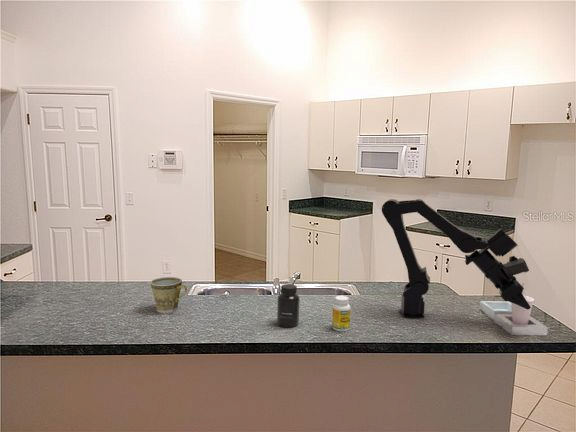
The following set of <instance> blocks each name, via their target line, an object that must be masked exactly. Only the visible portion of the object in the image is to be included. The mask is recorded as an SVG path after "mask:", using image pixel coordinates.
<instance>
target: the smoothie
mask: <svg viewBox="0 0 576 432" xmlns="http://www.w3.org/2000/svg"><path fill="white" fill-rule="evenodd" d="M521 285H522V287H523V288H524V290H523V291H522V295H523V296H524V298H525V299H526V301H527V302H528V304H529V305H530V307H531V308H530V309H528V310H527V309H525V308H523V307H521V306H519V305H517V304H514V303H512V302H510V303H511V306H512V322H513V323H514V324H521V325H528V321H529V317H530V316H531V312H532V308H533V304H535V299H534V297H531V296H528V295H525V294H524V292H525V283H522V284H521Z"/></svg>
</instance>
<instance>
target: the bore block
mask: <svg viewBox="0 0 576 432" xmlns="http://www.w3.org/2000/svg"><path fill="white" fill-rule="evenodd" d="M493 322H494V323H495V324H497V325H498V326H499V327H501V328H502V329H503V330H504V331H505V332H507V333H508V334H509V335H511V336H547V335H548V329H549V328H548V326H546V325H545V324H543V323H542V322H540V321H538V320H537V319H536V318H533V317H532V316H531V315H530V317H529V321H528V325H521V324H514V323H513V322H512V314H495V316H494V320H493Z"/></svg>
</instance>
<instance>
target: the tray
mask: <svg viewBox="0 0 576 432" xmlns="http://www.w3.org/2000/svg"><path fill="white" fill-rule="evenodd" d="M479 311H480V312H482V313H484V314H485V316H487V317H488V318H491V320H493V321H494V316H495V314H512V306H511V302H510V301H505V300H503V301H501V300H500V301H498V300H497V301H495V300H494V301H488V300H486V301H485V300H480V302H479Z"/></svg>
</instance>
